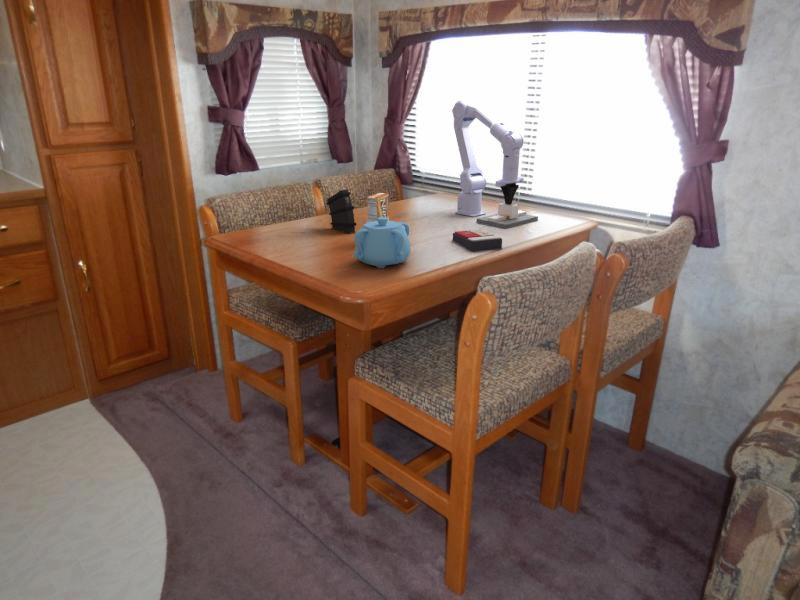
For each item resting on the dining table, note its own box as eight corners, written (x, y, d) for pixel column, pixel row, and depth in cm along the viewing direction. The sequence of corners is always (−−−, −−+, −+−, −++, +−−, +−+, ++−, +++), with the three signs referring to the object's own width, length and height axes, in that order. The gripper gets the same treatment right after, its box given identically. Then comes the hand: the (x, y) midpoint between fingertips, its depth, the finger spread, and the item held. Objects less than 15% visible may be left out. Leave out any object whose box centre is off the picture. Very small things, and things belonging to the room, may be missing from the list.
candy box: (378, 236, 199) (378, 192, 194) (389, 237, 198) (389, 193, 192) (367, 242, 192) (366, 196, 186) (378, 243, 190) (377, 197, 185)
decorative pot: (366, 253, 179) (364, 210, 175) (415, 256, 176) (415, 213, 171) (348, 268, 165) (346, 222, 160) (402, 272, 161) (401, 225, 156)
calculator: (481, 228, 196) (502, 236, 182) (481, 240, 197) (502, 249, 184) (452, 230, 192) (471, 239, 179) (452, 243, 194) (471, 252, 180)
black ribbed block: (352, 231, 199) (340, 190, 199) (334, 240, 210) (323, 201, 210) (361, 229, 201) (349, 188, 201) (343, 238, 212) (331, 200, 212)
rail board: (476, 222, 218) (476, 215, 217) (508, 214, 230) (509, 208, 229) (505, 228, 208) (506, 221, 207) (537, 220, 221) (538, 213, 220)
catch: (499, 218, 218) (499, 215, 218) (509, 215, 222) (509, 212, 221) (505, 219, 216) (505, 216, 215) (515, 217, 220) (515, 213, 219)
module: (497, 216, 220) (498, 203, 218) (504, 214, 222) (505, 201, 220) (511, 219, 215) (512, 205, 213) (517, 217, 218) (518, 204, 216)
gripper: (507, 170, 205) (504, 207, 210) (531, 166, 214) (528, 202, 219) (491, 168, 210) (489, 205, 214) (515, 164, 219) (513, 200, 224)
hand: (508, 203), depth 217 cm, fingers closed
